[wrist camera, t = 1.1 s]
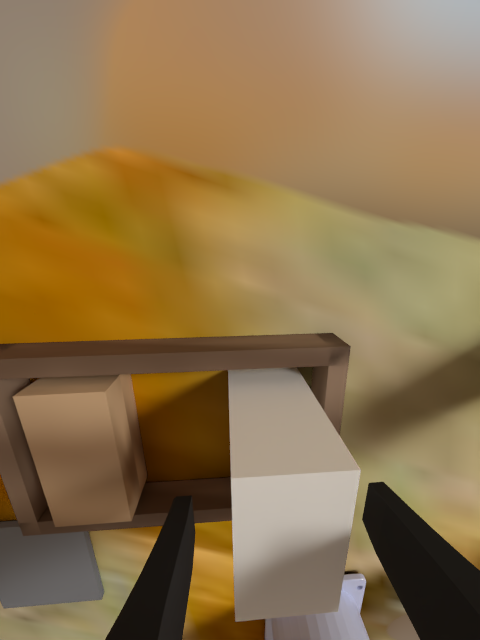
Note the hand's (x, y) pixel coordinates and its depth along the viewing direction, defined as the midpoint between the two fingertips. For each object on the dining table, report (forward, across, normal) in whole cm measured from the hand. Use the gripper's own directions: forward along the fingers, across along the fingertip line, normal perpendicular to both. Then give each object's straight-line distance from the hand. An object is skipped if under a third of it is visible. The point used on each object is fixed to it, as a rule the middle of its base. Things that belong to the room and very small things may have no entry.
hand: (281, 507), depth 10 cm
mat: (+5, +16, +11) cm, 20 cm away
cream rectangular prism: (+6, 0, 0) cm, 6 cm away
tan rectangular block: (+6, +10, 0) cm, 11 cm away
